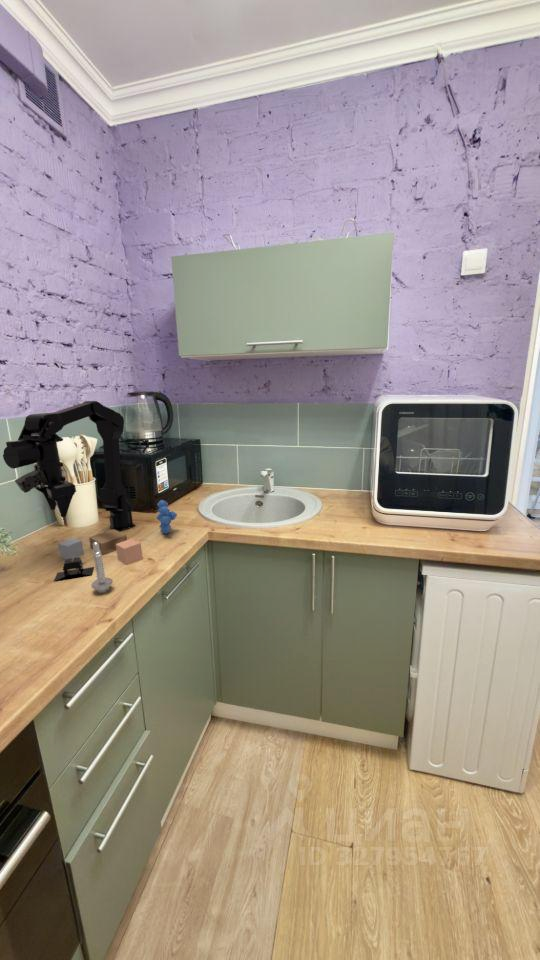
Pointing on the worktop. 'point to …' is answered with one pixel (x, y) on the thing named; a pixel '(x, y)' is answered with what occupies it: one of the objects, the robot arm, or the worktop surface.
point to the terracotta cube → (129, 551)
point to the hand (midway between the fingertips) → (58, 513)
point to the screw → (100, 572)
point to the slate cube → (70, 548)
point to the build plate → (75, 573)
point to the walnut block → (108, 540)
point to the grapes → (165, 516)
